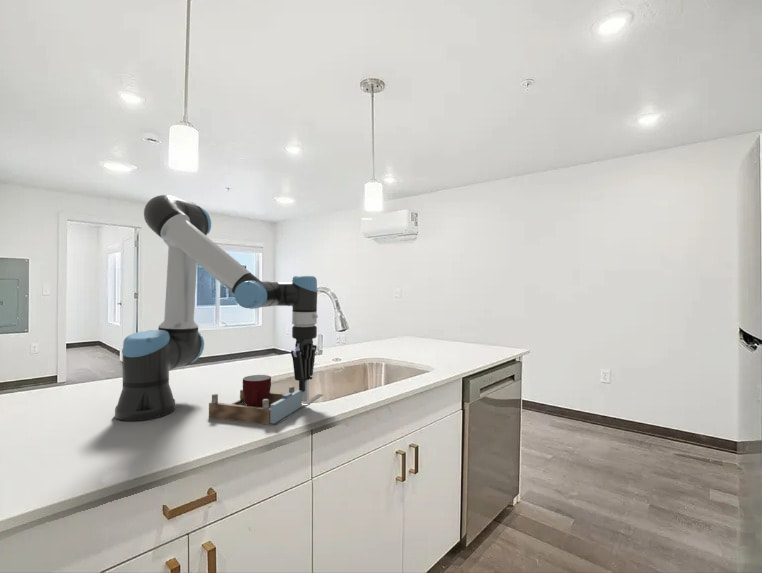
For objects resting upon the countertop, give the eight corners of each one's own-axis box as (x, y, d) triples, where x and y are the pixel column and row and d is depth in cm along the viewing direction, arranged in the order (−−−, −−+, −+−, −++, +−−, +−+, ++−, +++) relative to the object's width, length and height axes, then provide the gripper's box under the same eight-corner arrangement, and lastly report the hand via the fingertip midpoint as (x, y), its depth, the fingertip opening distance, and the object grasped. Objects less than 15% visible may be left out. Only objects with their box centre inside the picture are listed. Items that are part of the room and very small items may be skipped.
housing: (208, 417, 110) (208, 394, 110) (268, 389, 139) (268, 372, 139) (275, 425, 104) (275, 401, 104) (323, 395, 133) (323, 376, 133)
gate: (269, 423, 105) (269, 401, 105) (297, 406, 119) (297, 387, 119) (274, 423, 104) (275, 402, 104) (302, 406, 119) (302, 387, 119)
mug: (271, 417, 111) (271, 382, 111) (241, 419, 108) (241, 384, 108) (270, 406, 121) (270, 374, 121) (242, 408, 118) (243, 375, 118)
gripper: (305, 328, 113) (304, 408, 114) (324, 323, 126) (323, 396, 126) (283, 327, 116) (282, 405, 116) (303, 322, 128) (302, 394, 128)
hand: (303, 400), depth 121 cm, fingers closed
